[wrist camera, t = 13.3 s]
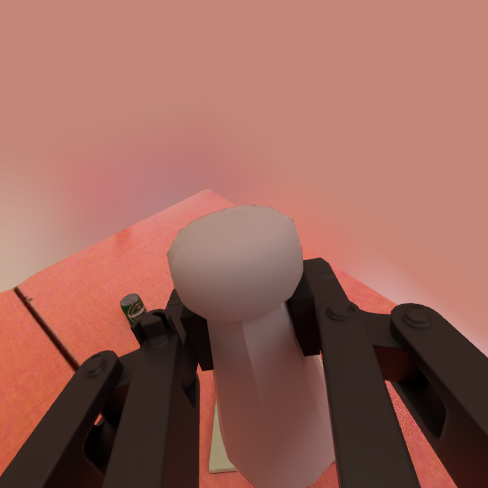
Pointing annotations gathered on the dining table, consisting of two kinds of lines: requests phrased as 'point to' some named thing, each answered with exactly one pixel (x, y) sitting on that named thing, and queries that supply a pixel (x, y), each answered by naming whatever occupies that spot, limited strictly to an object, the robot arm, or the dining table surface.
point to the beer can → (132, 307)
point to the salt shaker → (256, 343)
